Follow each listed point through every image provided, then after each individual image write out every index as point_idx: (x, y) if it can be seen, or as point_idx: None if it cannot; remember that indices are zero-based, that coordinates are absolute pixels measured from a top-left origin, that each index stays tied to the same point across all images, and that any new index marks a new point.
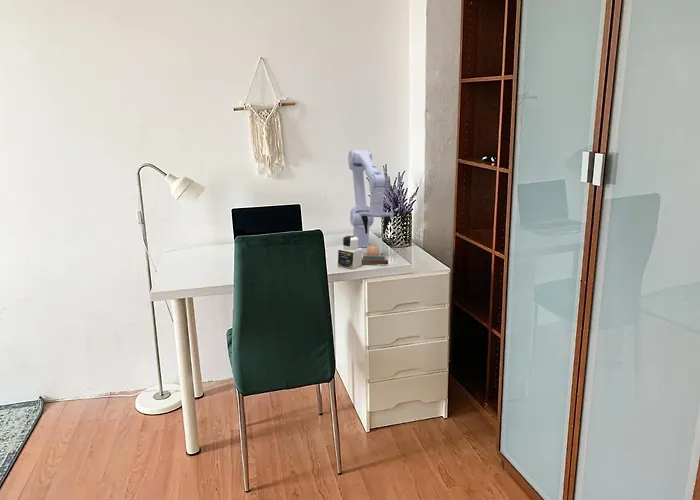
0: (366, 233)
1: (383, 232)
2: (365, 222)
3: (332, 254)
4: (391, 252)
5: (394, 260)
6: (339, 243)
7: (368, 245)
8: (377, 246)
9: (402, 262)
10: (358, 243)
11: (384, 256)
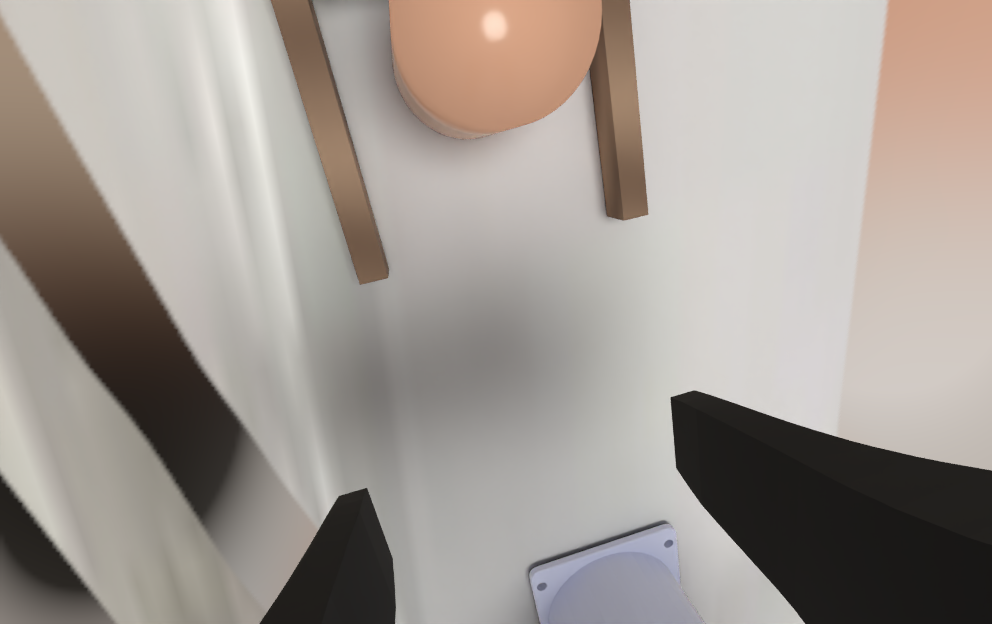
0: (687, 395)
1: (361, 506)
2: (984, 494)
3: (851, 209)
4: (300, 484)
5: (187, 136)
6: (763, 581)
7: (579, 78)
8: (421, 41)
9: (44, 48)
10: (640, 568)
11: (316, 121)
